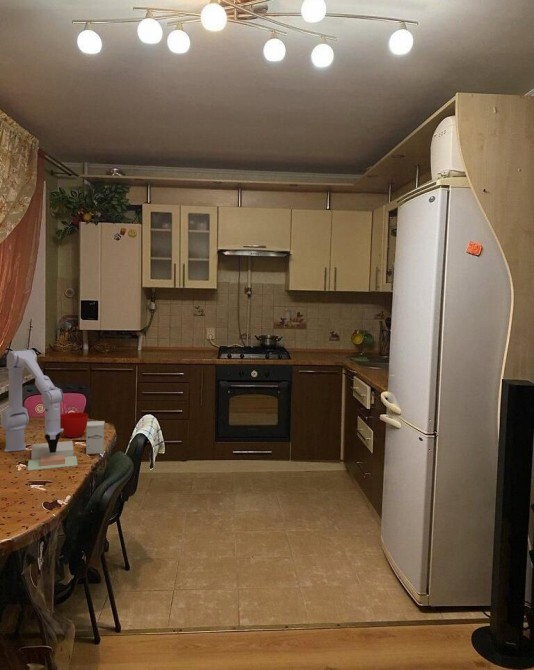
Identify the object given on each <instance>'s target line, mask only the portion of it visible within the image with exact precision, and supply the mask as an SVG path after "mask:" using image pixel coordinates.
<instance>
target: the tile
mask: <svg viewBox="0 0 534 670" xmlns="http://www.w3.org/2000/svg"><path fill="white" fill-rule="evenodd" d="M61 464H65V455H55V456H44V457H41V460H40V466H51V465H61Z"/></svg>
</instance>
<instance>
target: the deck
mask: <svg viewBox="0 0 534 670" xmlns="http://www.w3.org/2000/svg"><path fill="white" fill-rule="evenodd" d="M74 453H75V452H74V443H73V440H67V441H58V443H57V449H56V452H55V453H50V451H49V446H48V442H43V443H42V442H41V443H33V444H32V445H31V454H30V455H31V460H36V459H41V457H44V456H55V455H65V457H69V456H75V455H74Z"/></svg>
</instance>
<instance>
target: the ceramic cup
mask: <svg viewBox="0 0 534 670" xmlns="http://www.w3.org/2000/svg"><path fill="white" fill-rule="evenodd" d="M88 415H89V414H87V413H86V412H80V411H78V412H77V411H76V412H75V411H74V412H73V411H72V412H65V413H60V429H63V431H62V432H61V433H62V434H63V435H64V436H65V437H66V438H67V437H76V438H79V437H78V436H80V437H81V436H82V435H83V433H85V430H86V428H87V422H88V420H89V419H88V418H89V417H88Z"/></svg>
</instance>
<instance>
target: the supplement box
mask: <svg viewBox="0 0 534 670" xmlns="http://www.w3.org/2000/svg"><path fill="white" fill-rule="evenodd" d="M105 424H106V422H105V420H100V421H99V420H98V421H97V420H96V421H92V420H91V421H87V426H86V429H85V430H86V435H85V436H86V437H85V440H86V441H85V443H86V444H85V447H86V448H85V454H86V455H91V454H92V455H93V454H94V455H95V454H104V451H105V426H106V425H105Z"/></svg>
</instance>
